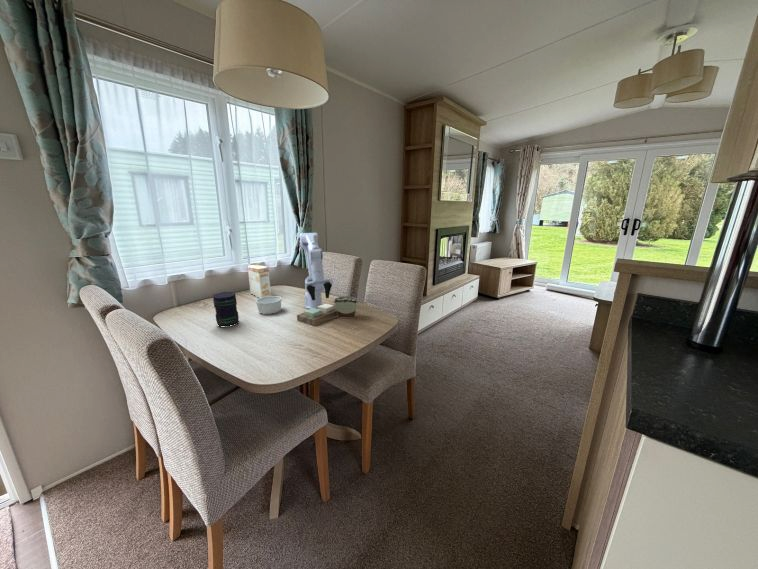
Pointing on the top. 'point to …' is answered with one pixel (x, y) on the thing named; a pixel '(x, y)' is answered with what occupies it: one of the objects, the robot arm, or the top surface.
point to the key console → (317, 317)
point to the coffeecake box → (259, 280)
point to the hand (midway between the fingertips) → (320, 299)
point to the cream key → (326, 307)
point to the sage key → (313, 312)
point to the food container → (345, 307)
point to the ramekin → (269, 304)
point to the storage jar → (226, 308)
